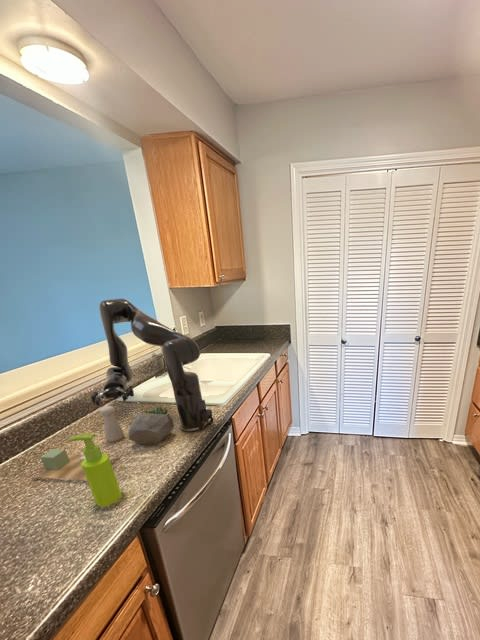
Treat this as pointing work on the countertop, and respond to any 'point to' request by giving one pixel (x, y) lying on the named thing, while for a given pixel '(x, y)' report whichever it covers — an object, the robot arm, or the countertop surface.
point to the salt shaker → (111, 424)
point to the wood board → (68, 470)
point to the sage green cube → (55, 459)
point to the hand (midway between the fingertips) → (111, 401)
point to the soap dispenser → (98, 472)
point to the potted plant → (151, 426)
